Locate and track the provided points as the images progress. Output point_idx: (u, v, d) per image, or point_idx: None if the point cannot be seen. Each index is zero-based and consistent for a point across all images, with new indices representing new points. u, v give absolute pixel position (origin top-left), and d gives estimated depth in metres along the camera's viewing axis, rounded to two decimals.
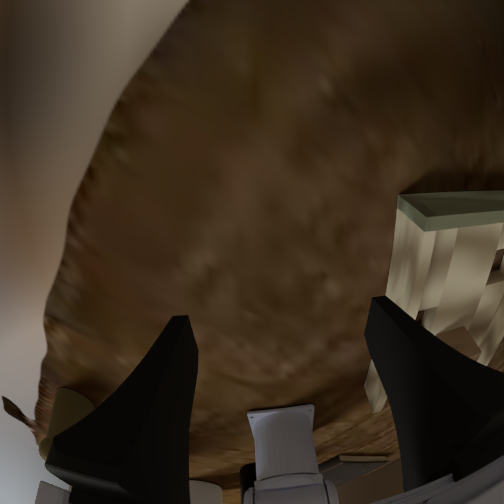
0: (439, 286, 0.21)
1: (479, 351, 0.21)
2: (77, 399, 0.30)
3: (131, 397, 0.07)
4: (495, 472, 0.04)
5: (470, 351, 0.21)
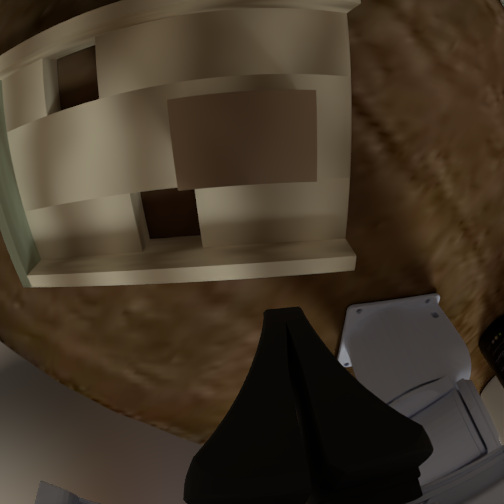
0: (99, 206, 0.17)
1: None
2: None
3: (265, 396, 0.07)
4: (495, 472, 0.04)
5: None
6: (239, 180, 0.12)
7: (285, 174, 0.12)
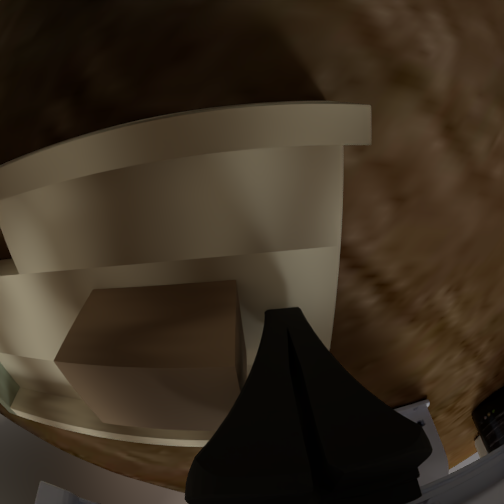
0: (57, 367, 0.14)
1: None
2: None
3: (267, 396, 0.07)
4: (495, 472, 0.04)
5: None
6: (160, 426, 0.09)
7: (209, 426, 0.09)
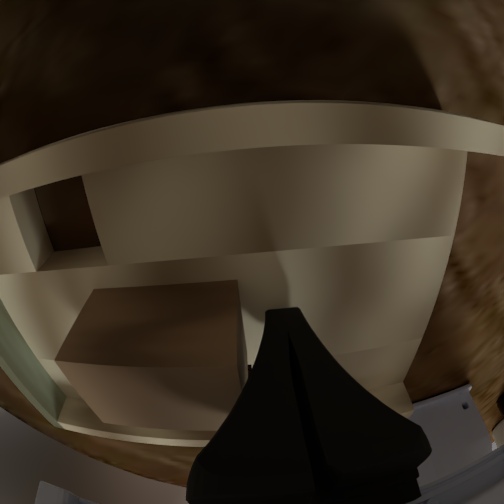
0: None
1: None
2: None
3: (267, 396, 0.07)
4: (495, 472, 0.04)
5: None
6: (161, 426, 0.09)
7: (210, 426, 0.09)
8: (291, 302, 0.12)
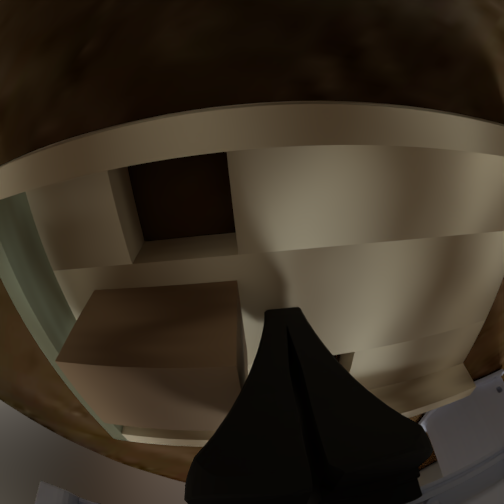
0: None
1: None
2: None
3: (266, 396, 0.07)
4: (495, 472, 0.04)
5: None
6: (161, 426, 0.09)
7: (211, 426, 0.09)
8: (404, 288, 0.12)
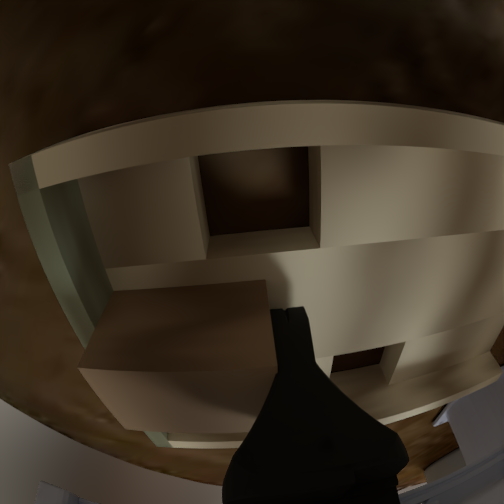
0: None
1: None
2: None
3: (297, 393, 0.07)
4: (495, 472, 0.04)
5: None
6: (188, 430, 0.09)
7: (240, 428, 0.09)
8: (454, 279, 0.11)
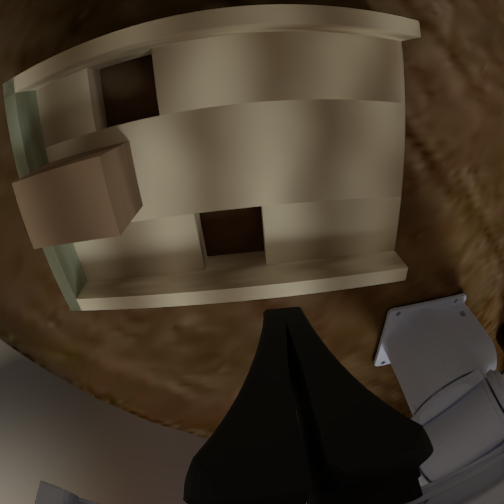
0: (159, 226, 0.18)
1: None
2: None
3: (265, 396, 0.07)
4: (495, 472, 0.04)
5: None
6: (66, 239, 0.13)
7: (94, 232, 0.13)
8: (290, 142, 0.15)
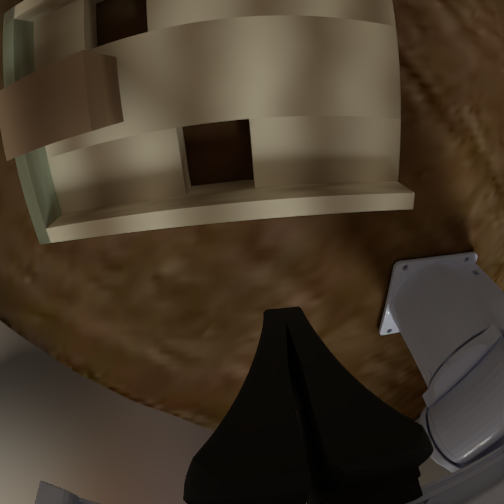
0: (139, 143, 0.15)
1: None
2: None
3: (265, 396, 0.07)
4: (495, 472, 0.04)
5: None
6: (38, 143, 0.11)
7: (67, 130, 0.11)
8: (279, 54, 0.13)
